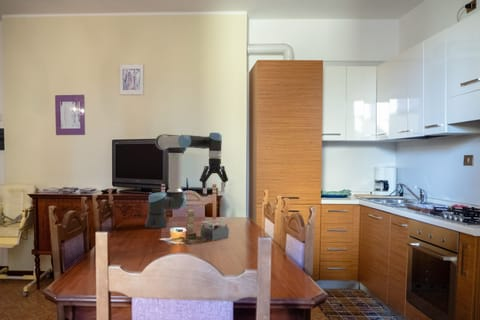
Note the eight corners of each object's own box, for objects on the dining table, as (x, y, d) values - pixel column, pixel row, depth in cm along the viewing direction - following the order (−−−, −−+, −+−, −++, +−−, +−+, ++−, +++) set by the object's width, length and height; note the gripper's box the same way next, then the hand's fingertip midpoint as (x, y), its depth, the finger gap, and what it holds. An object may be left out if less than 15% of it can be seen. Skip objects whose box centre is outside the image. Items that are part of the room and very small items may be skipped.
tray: (182, 242, 178) (182, 237, 178) (196, 239, 184) (196, 235, 184) (191, 245, 171) (191, 241, 171) (206, 243, 177) (206, 238, 177)
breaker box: (200, 237, 189) (200, 221, 189) (216, 235, 196) (216, 219, 197) (212, 242, 180) (212, 224, 180) (228, 239, 188) (228, 222, 188)
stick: (185, 236, 187) (186, 210, 187) (190, 236, 189) (190, 209, 189) (188, 237, 184) (189, 210, 184) (193, 237, 187) (193, 210, 187)
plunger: (210, 226, 188) (210, 222, 188) (215, 225, 191) (215, 221, 191) (214, 227, 185) (214, 223, 185) (219, 226, 188) (219, 222, 188)
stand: (179, 237, 187) (180, 232, 187) (191, 236, 192) (191, 230, 192) (187, 240, 181) (187, 235, 181) (198, 238, 186) (198, 233, 186)
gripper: (201, 157, 179) (200, 194, 179) (234, 158, 196) (233, 192, 196) (194, 157, 185) (193, 193, 185) (226, 158, 201) (225, 191, 201)
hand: (213, 193), depth 190 cm, fingers open, 13 cm apart
